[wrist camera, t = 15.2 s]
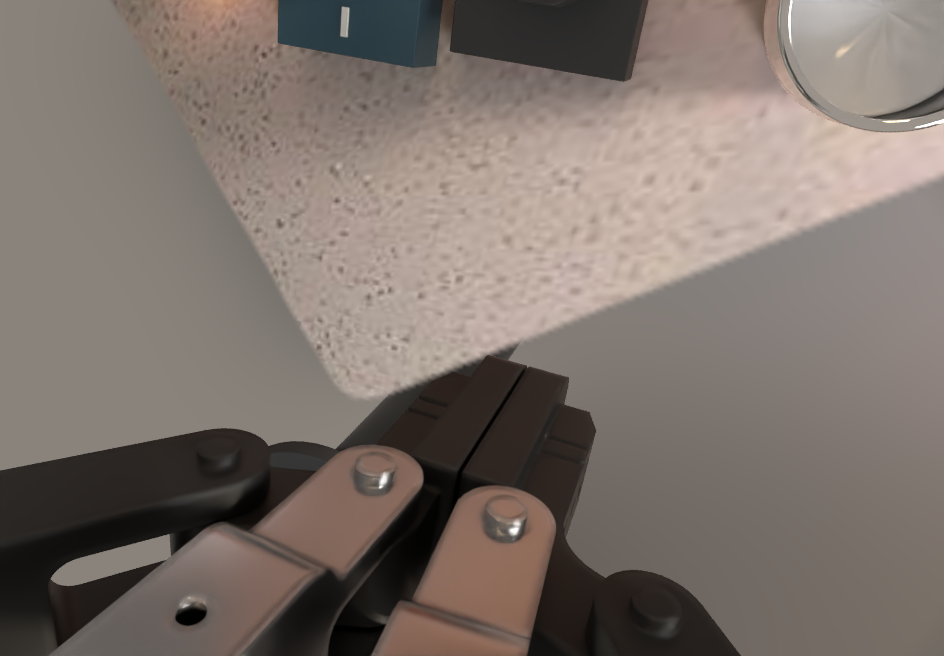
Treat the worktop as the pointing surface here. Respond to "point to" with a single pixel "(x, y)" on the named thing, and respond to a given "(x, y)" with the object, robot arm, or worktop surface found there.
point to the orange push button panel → (553, 33)
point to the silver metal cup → (861, 60)
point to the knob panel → (364, 28)
